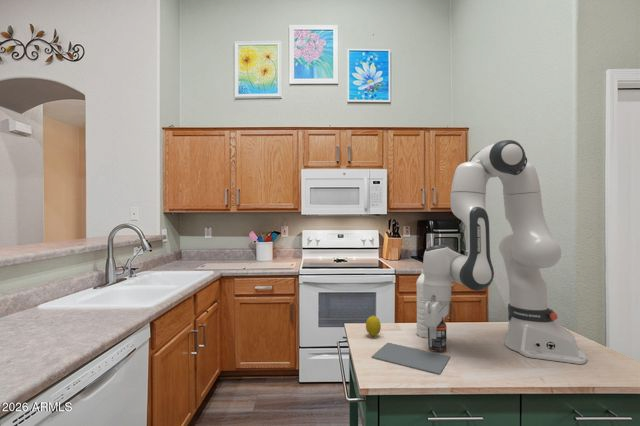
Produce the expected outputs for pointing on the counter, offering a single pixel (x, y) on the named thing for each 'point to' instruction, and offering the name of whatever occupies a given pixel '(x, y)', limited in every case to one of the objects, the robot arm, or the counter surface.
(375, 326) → the lemon
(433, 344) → the supplement bottle
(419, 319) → the water bottle
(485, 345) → the counter surface
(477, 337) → the counter surface
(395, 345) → the mat
